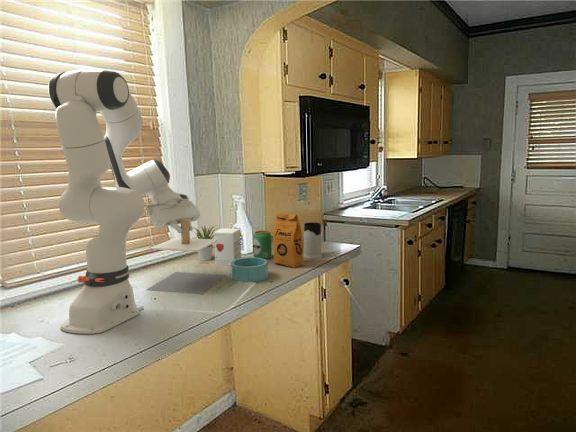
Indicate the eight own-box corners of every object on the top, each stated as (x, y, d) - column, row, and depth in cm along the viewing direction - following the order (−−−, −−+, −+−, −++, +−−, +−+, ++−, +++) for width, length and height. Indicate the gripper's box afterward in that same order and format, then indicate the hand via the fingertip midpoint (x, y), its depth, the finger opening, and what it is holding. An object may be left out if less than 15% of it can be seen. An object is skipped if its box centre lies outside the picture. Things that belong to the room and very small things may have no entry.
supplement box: (214, 266, 179) (213, 231, 176) (222, 260, 187) (221, 227, 185) (234, 267, 177) (233, 232, 174) (241, 261, 185) (240, 228, 183)
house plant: (227, 255, 197) (226, 220, 194) (219, 263, 183) (218, 226, 180) (197, 254, 198) (196, 220, 195) (188, 262, 184) (186, 226, 182)
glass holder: (299, 256, 192) (299, 224, 190) (314, 250, 204) (314, 219, 201) (316, 259, 187) (316, 226, 185) (330, 252, 199) (331, 221, 196)
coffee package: (292, 269, 172) (292, 217, 168) (270, 264, 180) (269, 214, 176) (307, 264, 180) (307, 213, 176) (285, 259, 188) (284, 211, 184)
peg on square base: (197, 251, 143) (196, 223, 141) (150, 249, 147) (148, 222, 145) (218, 240, 160) (217, 216, 159) (175, 239, 164) (174, 214, 163)
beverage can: (250, 258, 191) (249, 232, 189) (264, 254, 196) (263, 229, 194) (261, 261, 185) (260, 234, 183) (275, 258, 190) (274, 232, 188)
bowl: (261, 283, 155) (261, 268, 154) (226, 281, 158) (225, 266, 157) (271, 272, 168) (271, 258, 167) (238, 270, 171) (238, 256, 170)
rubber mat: (203, 295, 143) (203, 294, 143) (145, 291, 148) (145, 290, 148) (226, 276, 164) (226, 275, 164) (175, 273, 169) (175, 271, 169)
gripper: (147, 199, 146) (167, 230, 142) (190, 194, 163) (210, 221, 159) (140, 211, 149) (159, 241, 145) (183, 205, 166) (202, 232, 162)
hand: (186, 231), depth 152 cm, fingers closed on peg on square base, 3 cm apart
